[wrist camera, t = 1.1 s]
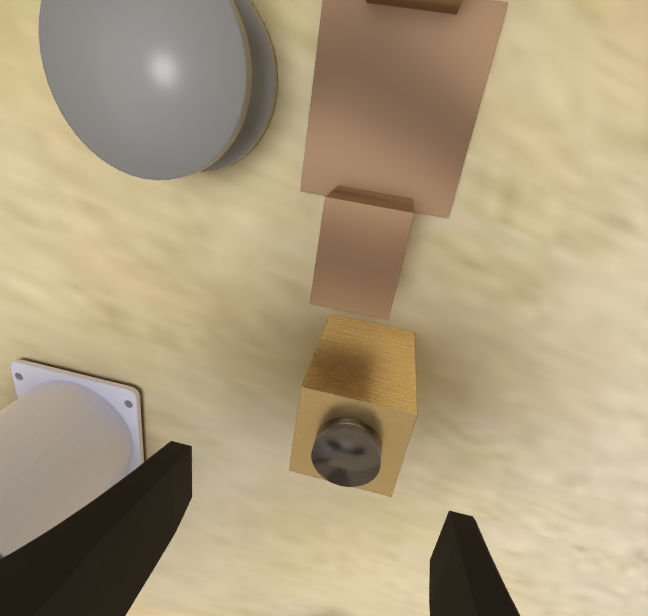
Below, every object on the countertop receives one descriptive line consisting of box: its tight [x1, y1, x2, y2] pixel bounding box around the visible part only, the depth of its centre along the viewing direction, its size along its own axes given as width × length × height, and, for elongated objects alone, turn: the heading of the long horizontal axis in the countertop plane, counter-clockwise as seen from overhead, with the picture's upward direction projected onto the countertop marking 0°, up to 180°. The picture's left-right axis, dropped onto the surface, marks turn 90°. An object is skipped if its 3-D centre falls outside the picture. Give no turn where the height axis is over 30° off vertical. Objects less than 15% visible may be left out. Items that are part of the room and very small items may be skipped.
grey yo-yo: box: [39, 0, 278, 180], centre depth 15 cm, size 7×7×4 cm
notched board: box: [300, 0, 508, 320], centre depth 14 cm, size 14×6×4 cm, turn 172°
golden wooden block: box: [289, 314, 417, 497], centre depth 17 cm, size 4×4×7 cm
